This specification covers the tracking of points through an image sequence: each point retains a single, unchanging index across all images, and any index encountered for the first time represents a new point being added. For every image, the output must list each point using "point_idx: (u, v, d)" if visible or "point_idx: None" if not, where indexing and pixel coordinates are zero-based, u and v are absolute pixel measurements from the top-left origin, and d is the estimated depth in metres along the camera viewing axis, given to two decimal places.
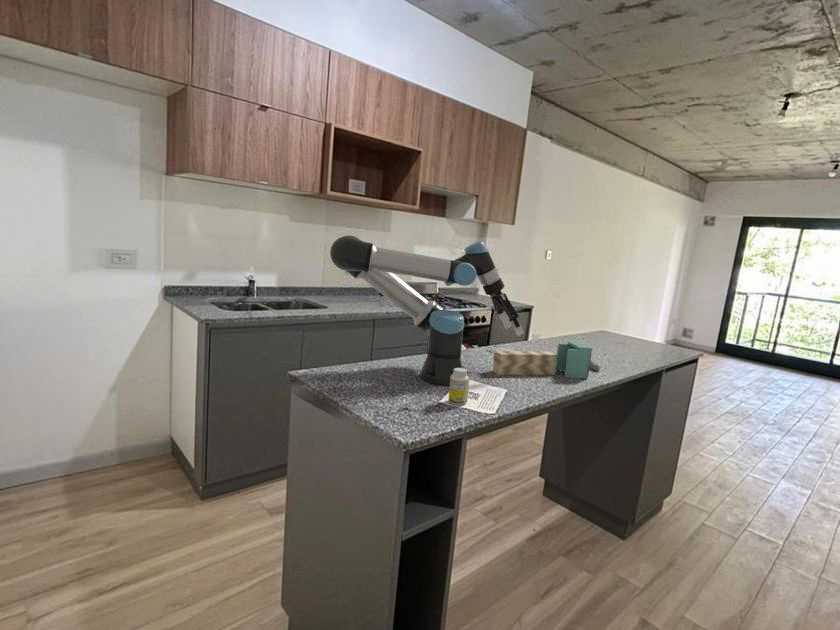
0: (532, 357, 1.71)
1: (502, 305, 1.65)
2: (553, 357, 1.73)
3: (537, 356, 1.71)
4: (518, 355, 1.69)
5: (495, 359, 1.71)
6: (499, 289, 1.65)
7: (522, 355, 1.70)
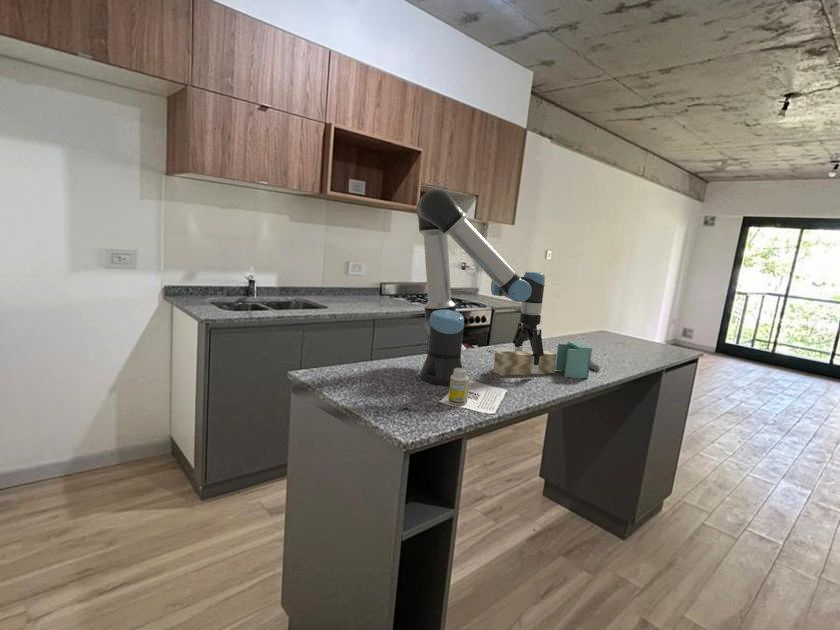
0: None
1: (531, 339, 1.67)
2: (552, 356, 1.74)
3: None
4: (519, 355, 1.69)
5: (496, 360, 1.70)
6: (536, 323, 1.67)
7: (523, 355, 1.70)
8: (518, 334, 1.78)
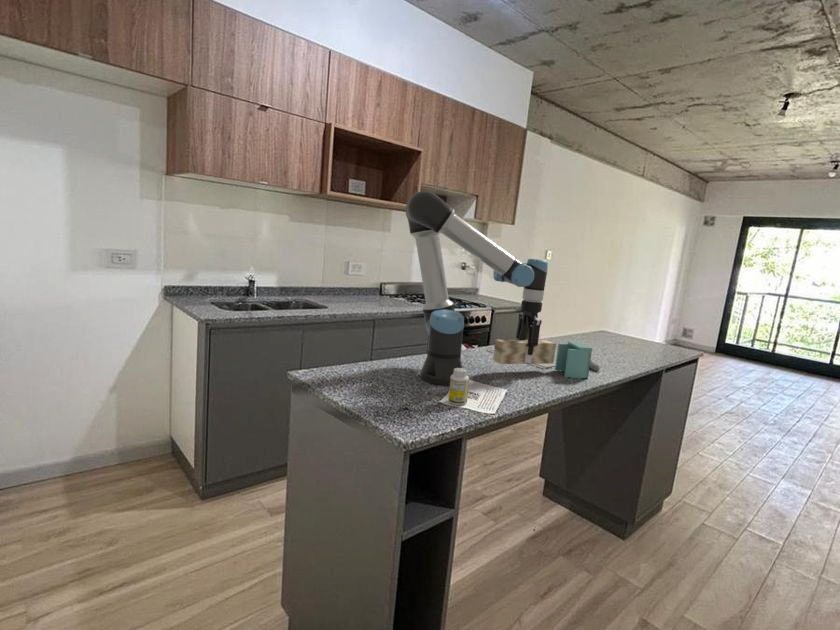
0: None
1: (529, 328, 1.68)
2: (552, 346, 1.74)
3: None
4: (519, 344, 1.68)
5: (496, 348, 1.69)
6: (537, 311, 1.67)
7: (523, 344, 1.69)
8: (520, 326, 1.76)
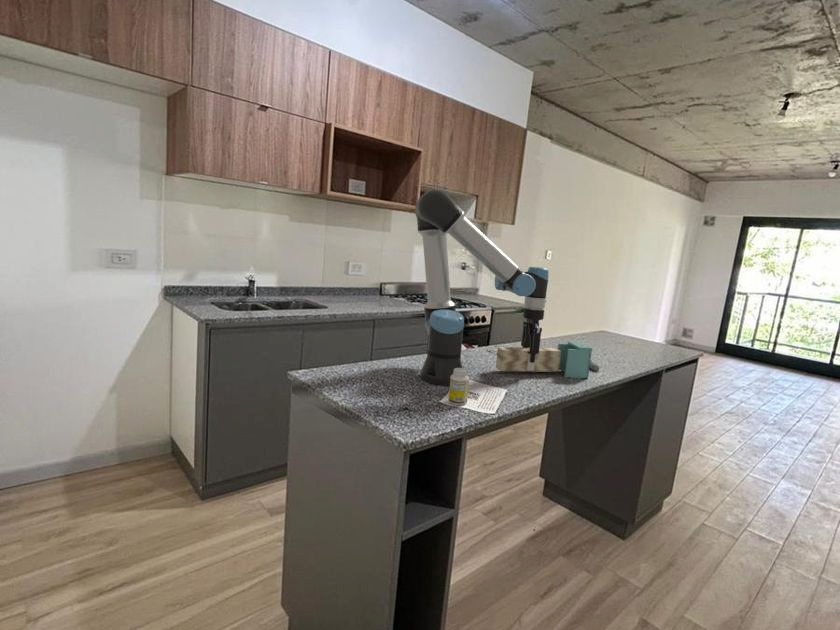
0: None
1: (531, 335, 1.69)
2: (556, 353, 1.73)
3: (540, 352, 1.71)
4: (521, 351, 1.69)
5: (498, 355, 1.71)
6: (538, 318, 1.67)
7: (525, 351, 1.70)
8: (525, 334, 1.77)
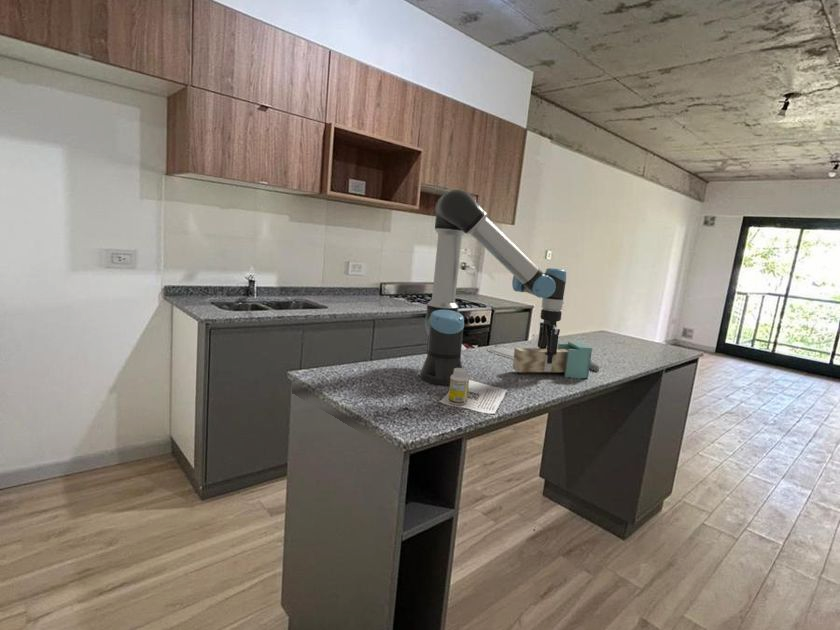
0: None
1: (548, 337, 1.70)
2: None
3: (557, 353, 1.72)
4: (538, 352, 1.70)
5: (515, 356, 1.72)
6: (556, 320, 1.68)
7: (542, 352, 1.71)
8: (541, 335, 1.78)
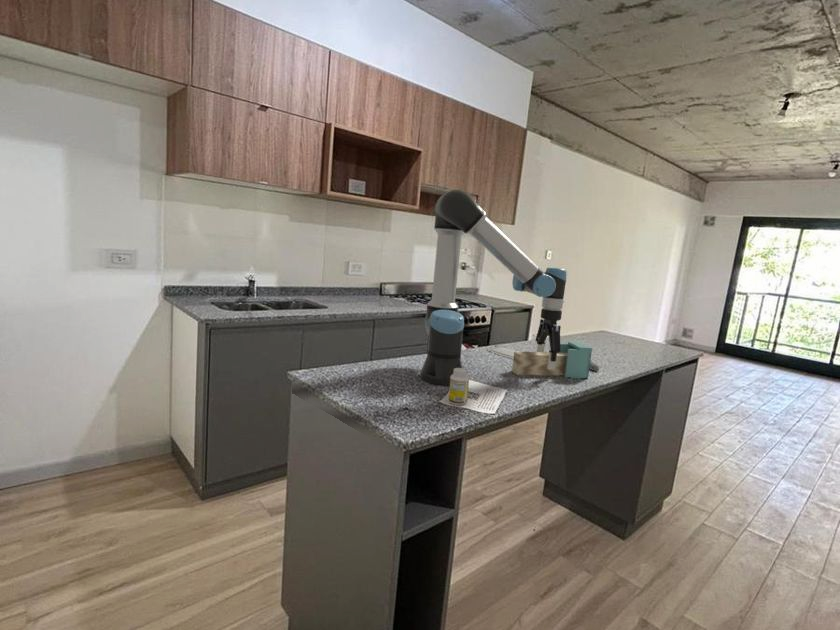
0: None
1: (550, 335, 1.68)
2: None
3: (557, 357, 1.72)
4: (538, 356, 1.71)
5: (515, 359, 1.73)
6: (556, 319, 1.68)
7: (542, 356, 1.71)
8: (540, 331, 1.79)
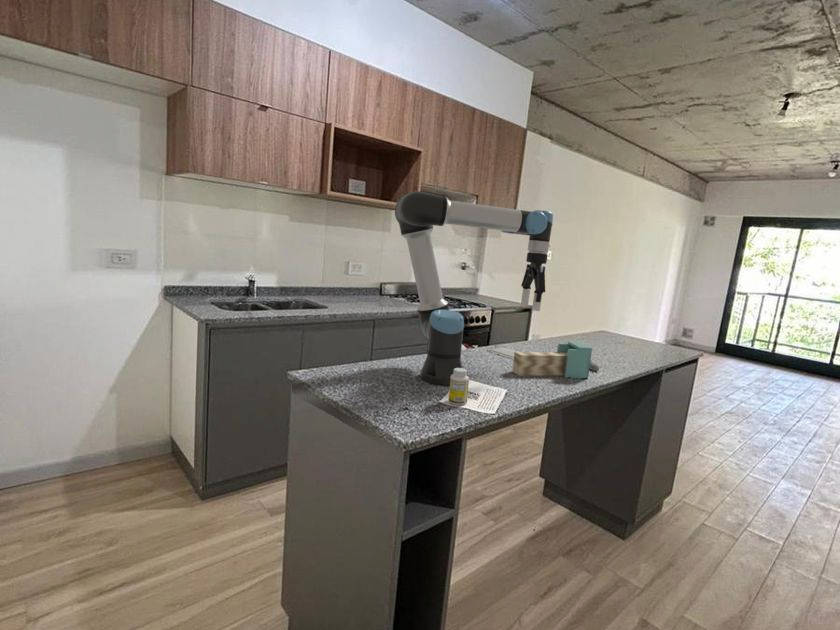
0: (552, 358, 1.72)
1: (535, 276, 1.68)
2: None
3: (557, 357, 1.72)
4: (538, 356, 1.70)
5: (515, 360, 1.72)
6: (541, 261, 1.68)
7: (542, 356, 1.71)
8: (526, 276, 1.80)
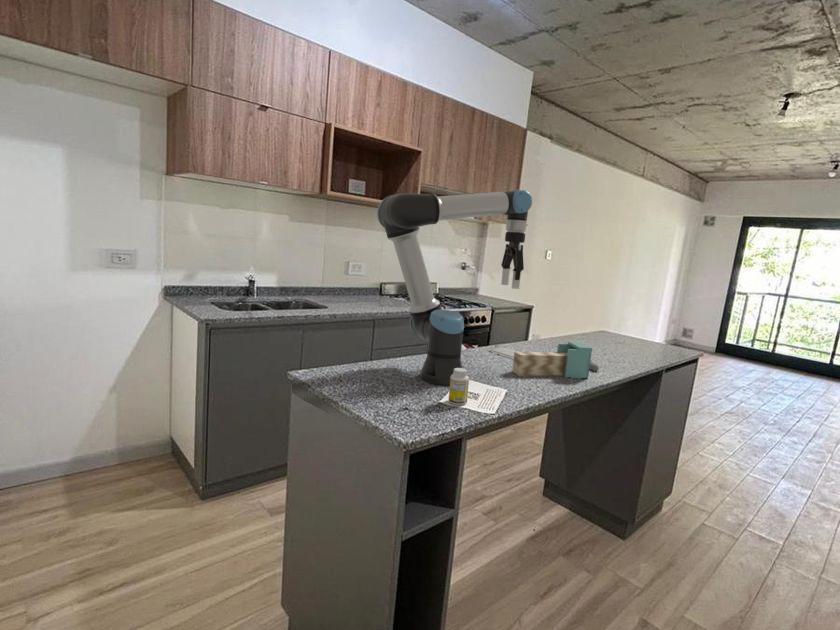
0: (552, 358, 1.72)
1: (514, 255, 1.72)
2: None
3: (557, 357, 1.72)
4: (538, 356, 1.70)
5: (515, 360, 1.72)
6: (519, 240, 1.72)
7: (542, 356, 1.71)
8: (506, 256, 1.83)
